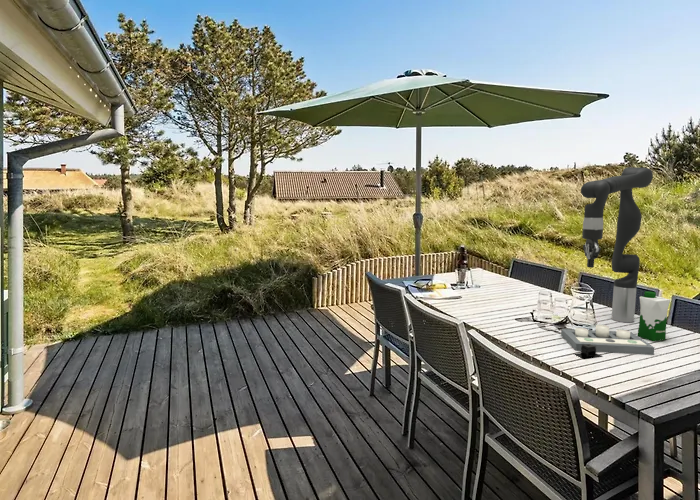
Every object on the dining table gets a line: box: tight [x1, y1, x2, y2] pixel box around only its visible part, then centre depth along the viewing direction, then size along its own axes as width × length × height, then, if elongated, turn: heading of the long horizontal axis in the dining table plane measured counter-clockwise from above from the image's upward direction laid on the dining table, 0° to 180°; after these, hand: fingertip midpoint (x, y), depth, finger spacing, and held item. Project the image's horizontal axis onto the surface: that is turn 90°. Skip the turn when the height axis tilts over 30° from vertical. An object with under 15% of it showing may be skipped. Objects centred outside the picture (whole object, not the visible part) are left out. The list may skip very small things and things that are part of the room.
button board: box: [560, 328, 656, 356], centre depth 164 cm, size 18×28×3 cm, turn 79°
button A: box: [615, 329, 631, 339], centre depth 164 cm, size 5×5×5 cm
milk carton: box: [636, 290, 671, 343], centre depth 169 cm, size 9×9×20 cm
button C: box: [574, 327, 589, 337], centre depth 168 cm, size 5×5×5 cm
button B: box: [595, 324, 610, 338], centre depth 166 cm, size 5×5×5 cm
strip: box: [576, 337, 647, 346], centre depth 159 cm, size 5×24×1 cm, turn 79°
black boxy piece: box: [574, 344, 604, 360], centre depth 153 cm, size 12×7×5 cm, turn 104°
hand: (590, 267), depth 171 cm, fingers closed
